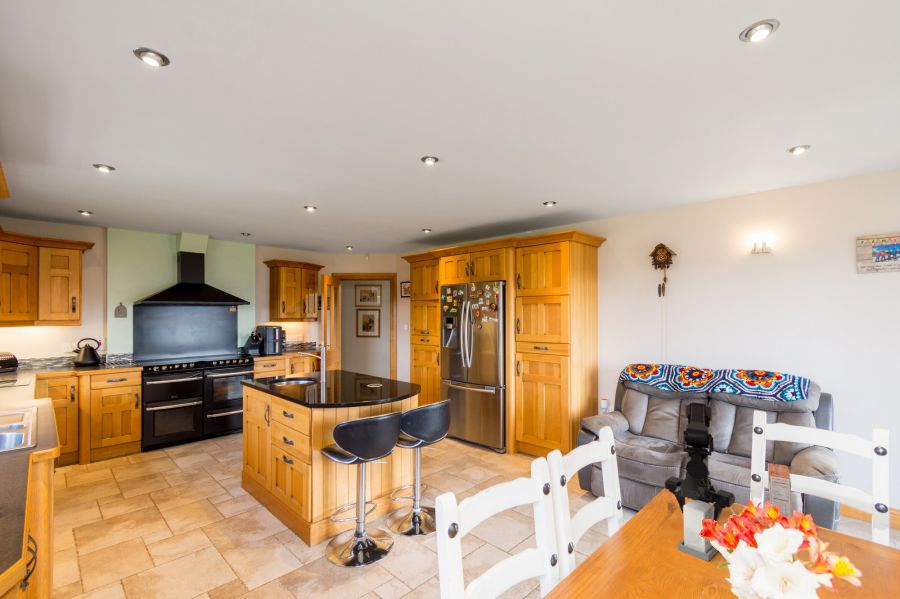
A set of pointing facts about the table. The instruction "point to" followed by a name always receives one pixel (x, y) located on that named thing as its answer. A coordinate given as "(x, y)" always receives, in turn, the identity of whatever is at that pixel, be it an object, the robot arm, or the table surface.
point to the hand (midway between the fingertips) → (698, 518)
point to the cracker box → (780, 488)
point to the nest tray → (696, 551)
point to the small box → (696, 524)
